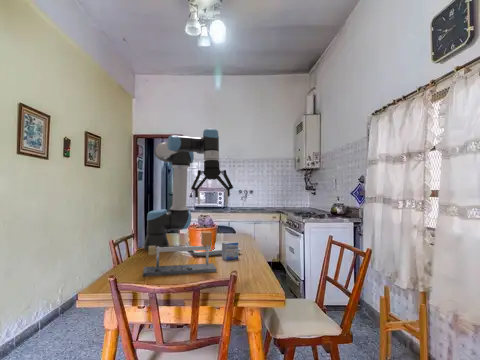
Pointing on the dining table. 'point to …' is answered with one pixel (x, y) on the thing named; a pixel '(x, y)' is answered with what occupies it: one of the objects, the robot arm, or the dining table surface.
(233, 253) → the medicine box
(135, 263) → the dining table surface
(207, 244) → the post
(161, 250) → the frame
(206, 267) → the bolt plate
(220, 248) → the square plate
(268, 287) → the dining table surface
